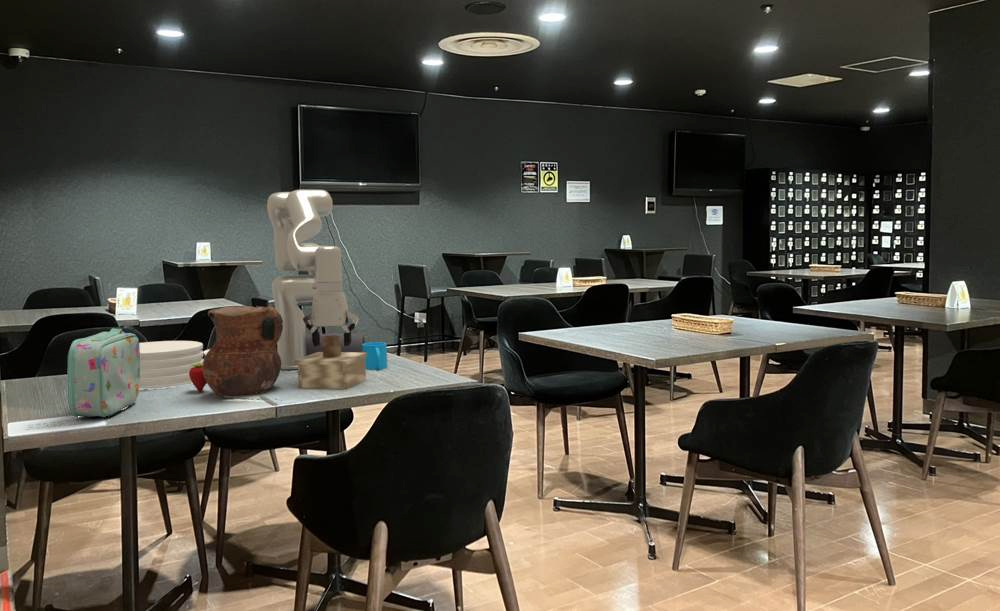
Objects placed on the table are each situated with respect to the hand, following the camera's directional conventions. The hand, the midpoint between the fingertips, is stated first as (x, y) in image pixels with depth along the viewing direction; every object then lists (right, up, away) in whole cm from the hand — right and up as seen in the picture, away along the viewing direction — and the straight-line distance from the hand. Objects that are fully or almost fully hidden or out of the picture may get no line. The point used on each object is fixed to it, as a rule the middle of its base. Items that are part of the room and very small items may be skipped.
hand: (332, 345), depth 247 cm
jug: (-24, -14, -7) cm, 29 cm away
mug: (+8, -10, +33) cm, 36 cm away
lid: (0, -4, +1) cm, 4 cm away
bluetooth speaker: (-10, -8, +52) cm, 53 cm away
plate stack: (-58, -13, +16) cm, 62 cm away
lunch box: (-54, -16, -27) cm, 62 cm away
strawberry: (-38, -14, -2) cm, 41 cm away
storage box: (0, -12, +1) cm, 12 cm away
